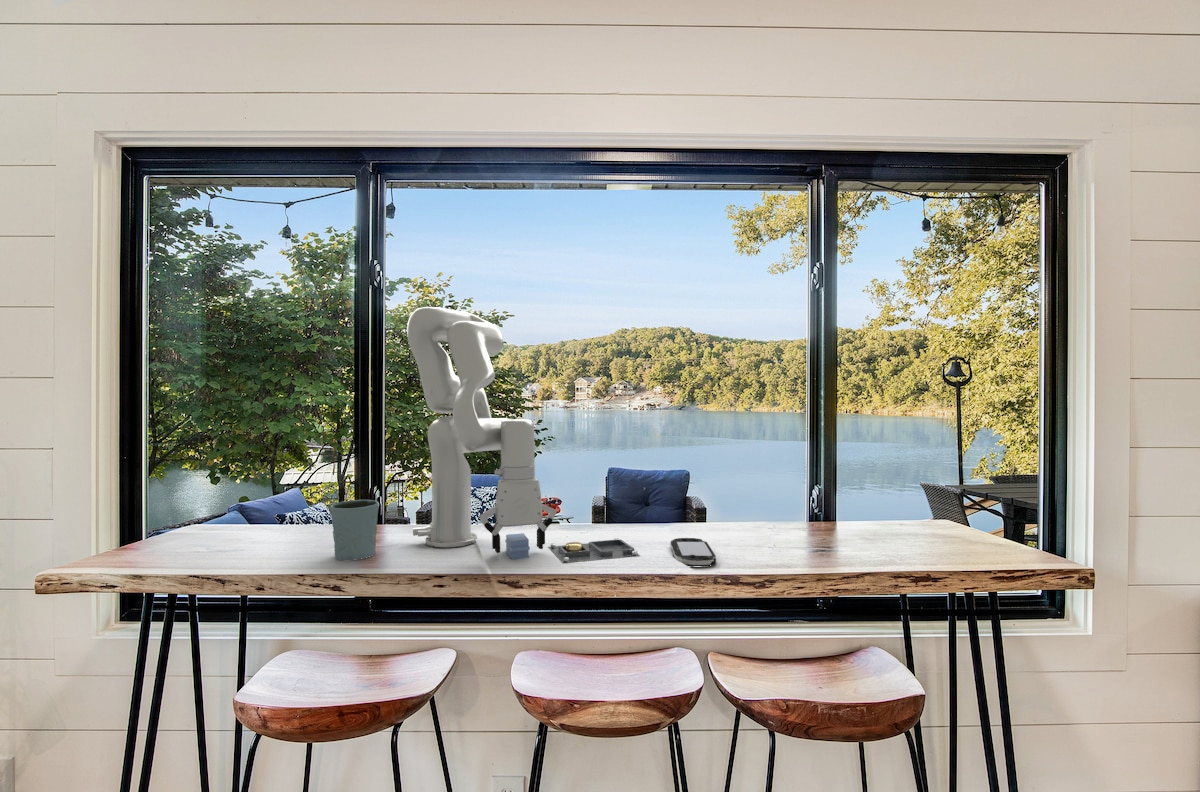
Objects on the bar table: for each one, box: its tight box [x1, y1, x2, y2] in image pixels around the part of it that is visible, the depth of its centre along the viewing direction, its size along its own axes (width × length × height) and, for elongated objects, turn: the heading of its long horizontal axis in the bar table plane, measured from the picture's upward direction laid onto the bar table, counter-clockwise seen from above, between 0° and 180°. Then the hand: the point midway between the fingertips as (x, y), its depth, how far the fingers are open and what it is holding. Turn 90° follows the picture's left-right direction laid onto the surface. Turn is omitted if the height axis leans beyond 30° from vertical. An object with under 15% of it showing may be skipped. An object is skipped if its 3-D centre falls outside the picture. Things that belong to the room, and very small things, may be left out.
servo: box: [504, 532, 531, 560], centre depth 128 cm, size 4×8×5 cm, turn 19°
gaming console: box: [669, 537, 717, 567], centre depth 131 cm, size 19×9×2 cm, turn 178°
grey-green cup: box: [329, 499, 380, 561], centre depth 130 cm, size 10×10×12 cm
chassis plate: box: [547, 537, 641, 564], centre depth 131 cm, size 18×14×2 cm
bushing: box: [565, 541, 583, 552], centre depth 129 cm, size 4×4×2 cm
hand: (519, 549), depth 128 cm, fingers open, 9 cm apart
